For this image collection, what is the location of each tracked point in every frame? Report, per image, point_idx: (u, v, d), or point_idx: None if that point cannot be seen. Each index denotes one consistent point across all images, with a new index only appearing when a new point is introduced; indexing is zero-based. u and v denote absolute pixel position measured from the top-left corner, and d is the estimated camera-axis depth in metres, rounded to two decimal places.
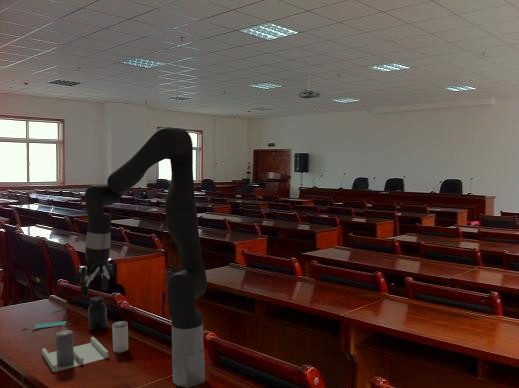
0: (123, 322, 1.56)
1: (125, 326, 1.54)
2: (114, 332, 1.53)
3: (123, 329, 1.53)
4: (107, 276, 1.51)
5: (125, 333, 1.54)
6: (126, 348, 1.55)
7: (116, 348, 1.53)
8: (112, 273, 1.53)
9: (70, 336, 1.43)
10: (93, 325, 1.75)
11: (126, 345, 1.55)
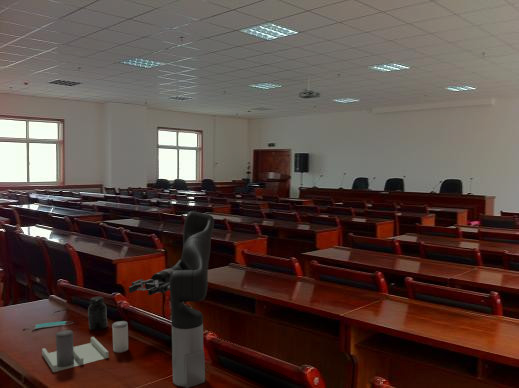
0: (123, 322, 1.56)
1: (125, 326, 1.54)
2: (114, 332, 1.53)
3: (123, 329, 1.53)
4: (156, 285, 1.67)
5: (125, 333, 1.54)
6: (126, 348, 1.55)
7: (116, 348, 1.53)
8: (162, 285, 1.67)
9: (70, 336, 1.43)
10: (93, 325, 1.75)
11: (126, 345, 1.55)
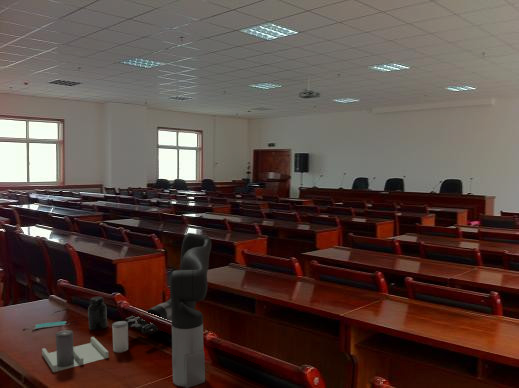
0: (123, 322, 1.56)
1: (125, 326, 1.54)
2: (114, 332, 1.53)
3: (123, 329, 1.53)
4: (150, 322, 1.64)
5: (125, 333, 1.54)
6: (126, 348, 1.55)
7: (116, 348, 1.53)
8: None
9: (70, 336, 1.43)
10: (93, 325, 1.75)
11: (126, 345, 1.55)
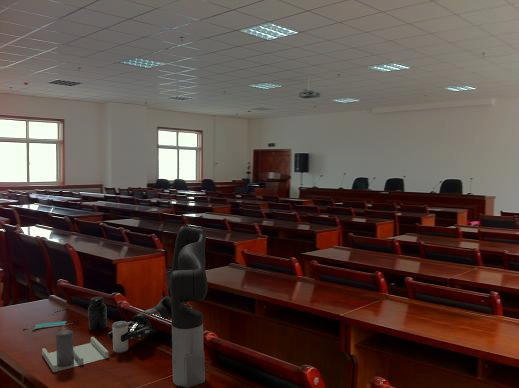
0: (123, 322, 1.56)
1: (125, 326, 1.54)
2: (114, 332, 1.53)
3: (123, 329, 1.53)
4: (131, 330, 1.56)
5: None
6: (126, 348, 1.55)
7: (116, 348, 1.53)
8: (137, 330, 1.56)
9: (70, 336, 1.43)
10: (93, 325, 1.75)
11: (126, 345, 1.55)
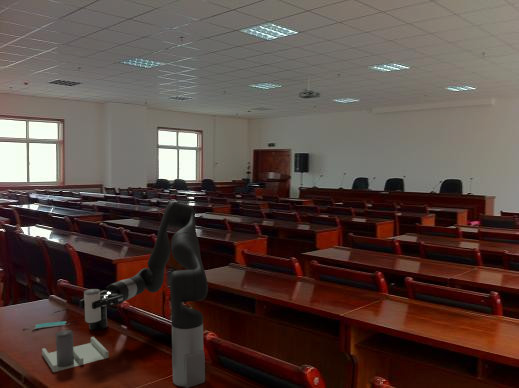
0: (96, 289, 1.54)
1: (97, 293, 1.51)
2: (85, 299, 1.50)
3: (95, 296, 1.51)
4: (103, 298, 1.54)
5: (97, 300, 1.51)
6: (98, 315, 1.52)
7: (88, 316, 1.51)
8: (109, 298, 1.53)
9: (70, 336, 1.43)
10: (93, 325, 1.75)
11: (98, 313, 1.52)
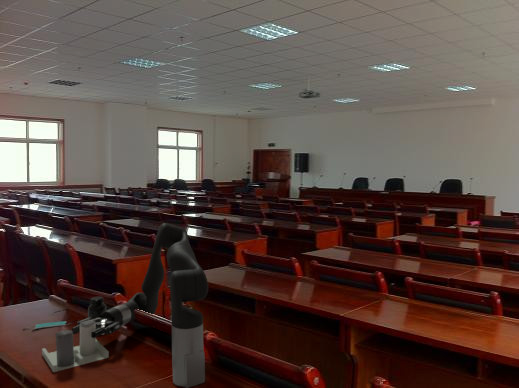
0: (91, 322, 1.54)
1: (93, 326, 1.51)
2: (81, 331, 1.50)
3: (90, 328, 1.51)
4: (102, 326, 1.53)
5: None
6: (93, 348, 1.52)
7: (82, 348, 1.50)
8: (108, 326, 1.53)
9: (70, 336, 1.43)
10: None
11: (93, 345, 1.52)
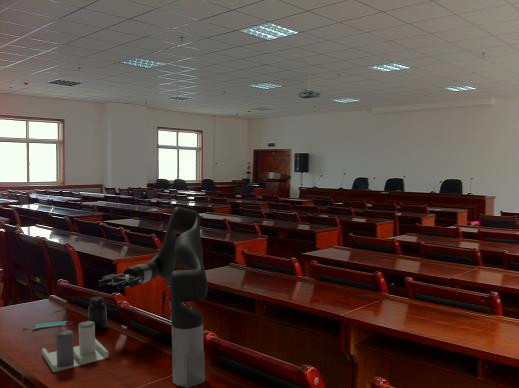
0: (90, 322, 1.53)
1: (91, 326, 1.51)
2: (80, 332, 1.50)
3: (89, 329, 1.50)
4: (126, 279, 1.64)
5: (91, 333, 1.51)
6: (93, 348, 1.52)
7: (82, 349, 1.50)
8: (132, 279, 1.64)
9: (70, 336, 1.43)
10: None
11: (93, 346, 1.52)
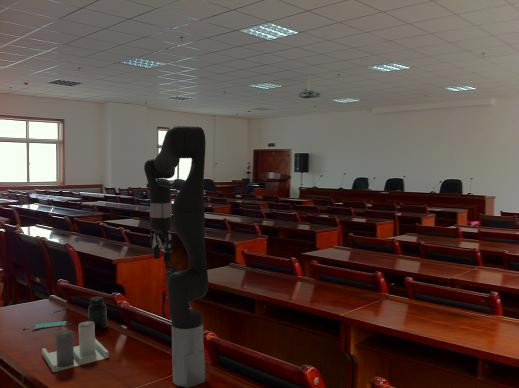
0: (90, 322, 1.53)
1: (91, 326, 1.51)
2: (80, 332, 1.50)
3: (89, 329, 1.50)
4: (163, 249, 1.56)
5: (91, 333, 1.51)
6: (93, 348, 1.52)
7: (82, 349, 1.50)
8: (166, 248, 1.55)
9: (70, 336, 1.43)
10: None
11: (93, 346, 1.52)
